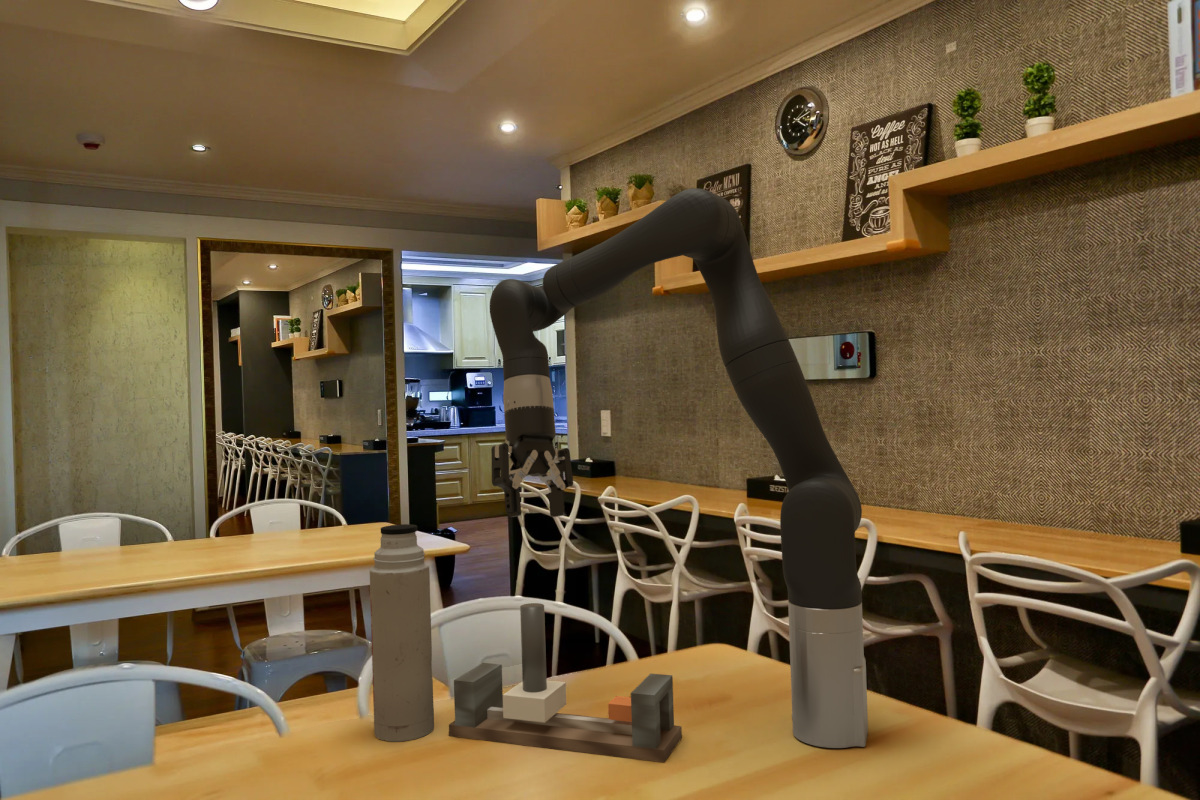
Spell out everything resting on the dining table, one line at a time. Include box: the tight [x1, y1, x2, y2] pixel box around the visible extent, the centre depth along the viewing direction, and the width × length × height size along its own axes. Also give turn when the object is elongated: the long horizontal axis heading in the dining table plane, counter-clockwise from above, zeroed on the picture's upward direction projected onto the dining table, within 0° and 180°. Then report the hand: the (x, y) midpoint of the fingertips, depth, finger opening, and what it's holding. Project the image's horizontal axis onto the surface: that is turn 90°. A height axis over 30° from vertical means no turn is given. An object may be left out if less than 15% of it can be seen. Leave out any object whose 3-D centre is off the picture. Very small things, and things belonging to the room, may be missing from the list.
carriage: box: [503, 602, 567, 723], centre depth 113 cm, size 6×7×14 cm
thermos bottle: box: [369, 523, 435, 742], centre depth 116 cm, size 8×8×28 cm
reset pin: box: [607, 695, 632, 722], centre depth 108 cm, size 5×3×2 cm, turn 69°
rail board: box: [448, 662, 683, 763], centre depth 112 cm, size 30×8×8 cm, turn 69°
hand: (536, 516), depth 125 cm, fingers open, 8 cm apart
